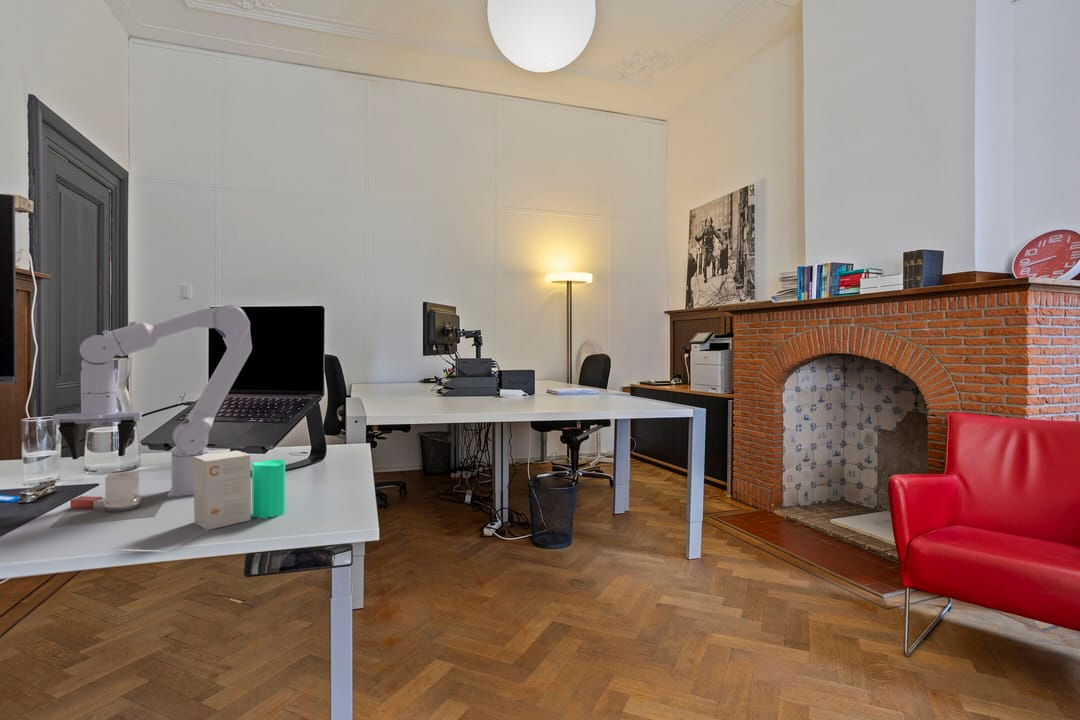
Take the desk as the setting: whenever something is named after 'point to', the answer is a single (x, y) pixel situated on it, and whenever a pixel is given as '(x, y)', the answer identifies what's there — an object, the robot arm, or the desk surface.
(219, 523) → the small box
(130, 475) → the pale grey cube
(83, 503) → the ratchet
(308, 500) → the desk surface
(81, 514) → the mat
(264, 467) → the candle
